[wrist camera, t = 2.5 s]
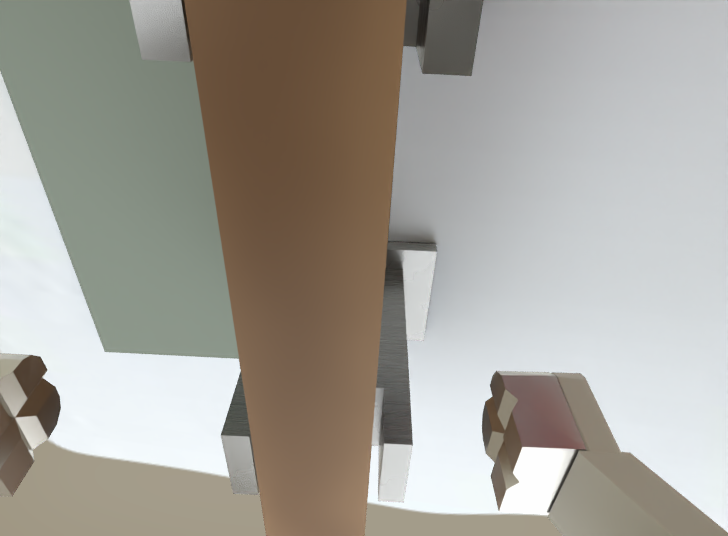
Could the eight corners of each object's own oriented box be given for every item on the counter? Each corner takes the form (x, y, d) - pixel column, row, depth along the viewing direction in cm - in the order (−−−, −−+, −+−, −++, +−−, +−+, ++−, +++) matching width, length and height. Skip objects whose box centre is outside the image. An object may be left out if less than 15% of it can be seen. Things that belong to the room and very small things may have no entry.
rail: (428, -427, 6) (457, -636, 4) (364, 488, 19) (361, 573, 16) (197, -438, 6) (83, -653, 4) (285, 483, 19) (271, 568, 16)
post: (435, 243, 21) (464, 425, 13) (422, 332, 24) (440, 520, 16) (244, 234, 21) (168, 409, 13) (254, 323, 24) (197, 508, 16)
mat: (159, -297, 12) (153, -303, 12) (248, 353, 25) (246, 359, 24) (-130, -310, 12) (-144, -317, 12) (108, 346, 25) (105, 351, 24)
